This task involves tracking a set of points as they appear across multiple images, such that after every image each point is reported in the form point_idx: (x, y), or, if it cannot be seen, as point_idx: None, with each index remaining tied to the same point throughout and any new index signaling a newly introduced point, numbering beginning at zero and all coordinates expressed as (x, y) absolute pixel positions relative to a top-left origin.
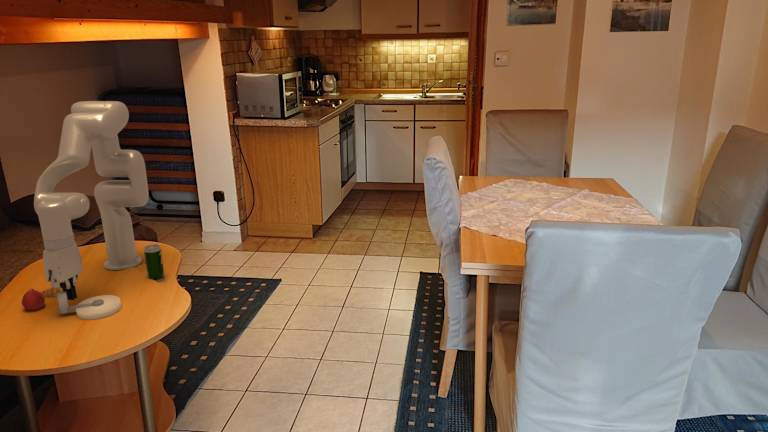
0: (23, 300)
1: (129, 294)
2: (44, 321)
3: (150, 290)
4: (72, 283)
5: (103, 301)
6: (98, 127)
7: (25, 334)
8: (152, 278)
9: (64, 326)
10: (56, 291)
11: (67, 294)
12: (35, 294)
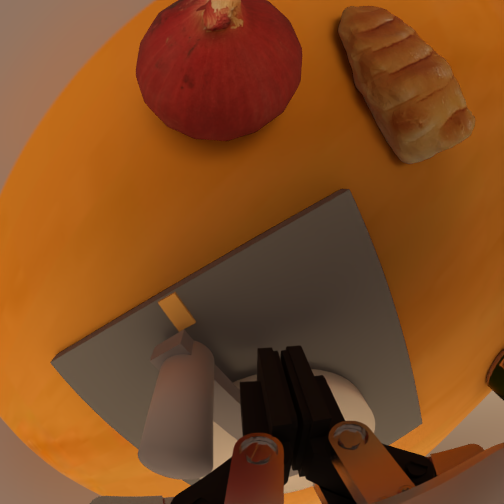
0: (144, 37)
1: (430, 386)
2: (131, 246)
3: (443, 410)
4: (318, 487)
5: (294, 473)
6: None
7: (27, 262)
8: (493, 381)
9: None
10: (409, 101)
11: (242, 428)
12: (196, 85)
